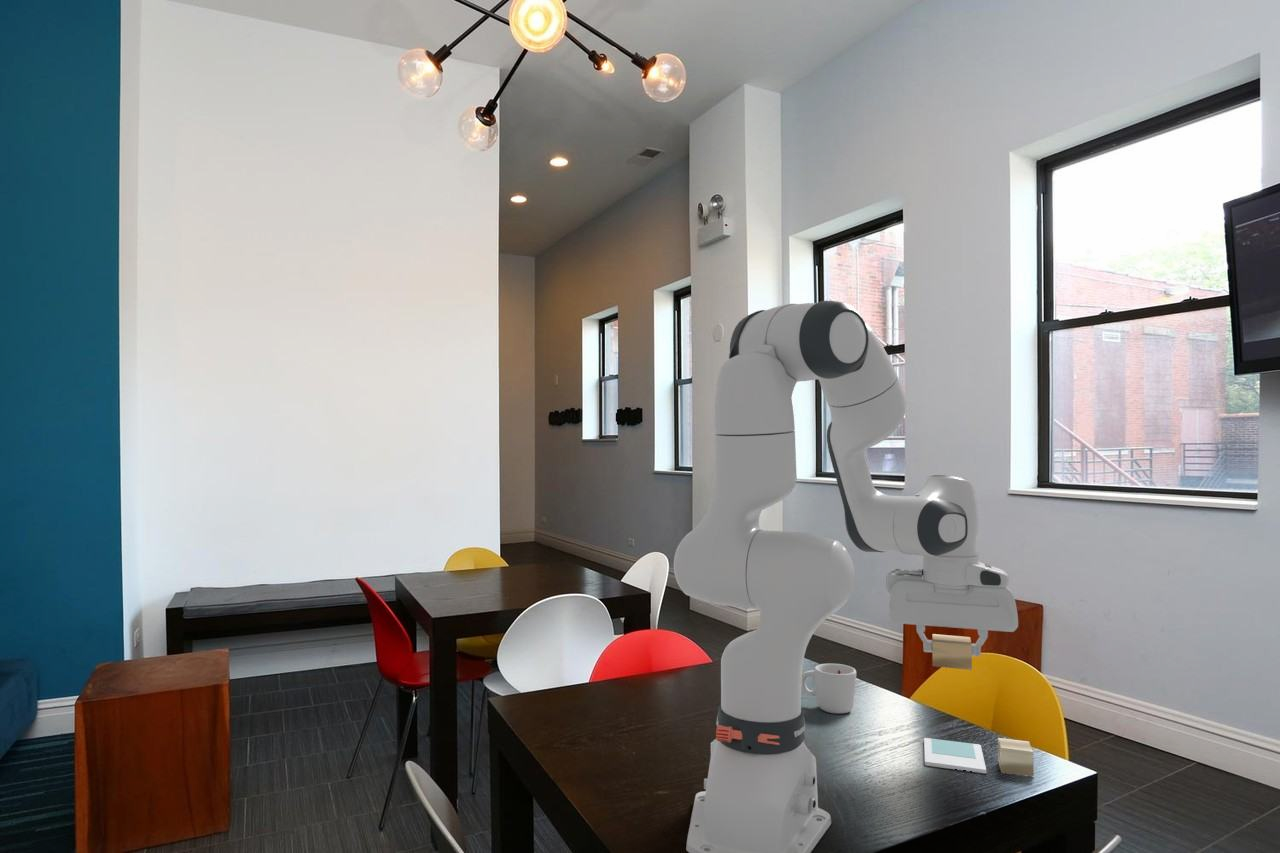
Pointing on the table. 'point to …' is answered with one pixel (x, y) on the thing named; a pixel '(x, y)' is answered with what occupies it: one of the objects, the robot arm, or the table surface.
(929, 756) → the plate
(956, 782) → the table surface
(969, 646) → the oak block
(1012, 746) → the maple block
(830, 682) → the cup
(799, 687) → the robot arm
